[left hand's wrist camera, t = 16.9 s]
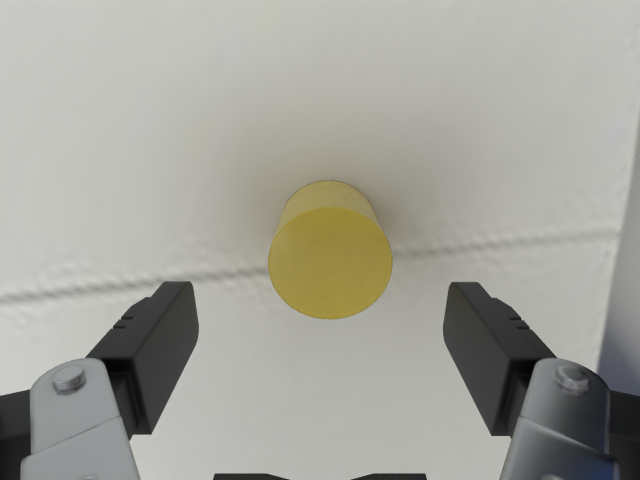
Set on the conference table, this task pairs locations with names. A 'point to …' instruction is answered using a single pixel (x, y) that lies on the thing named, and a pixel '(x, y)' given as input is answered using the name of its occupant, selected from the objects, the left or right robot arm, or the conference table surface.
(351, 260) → the canister
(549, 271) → the conference table surface
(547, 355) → the left robot arm
